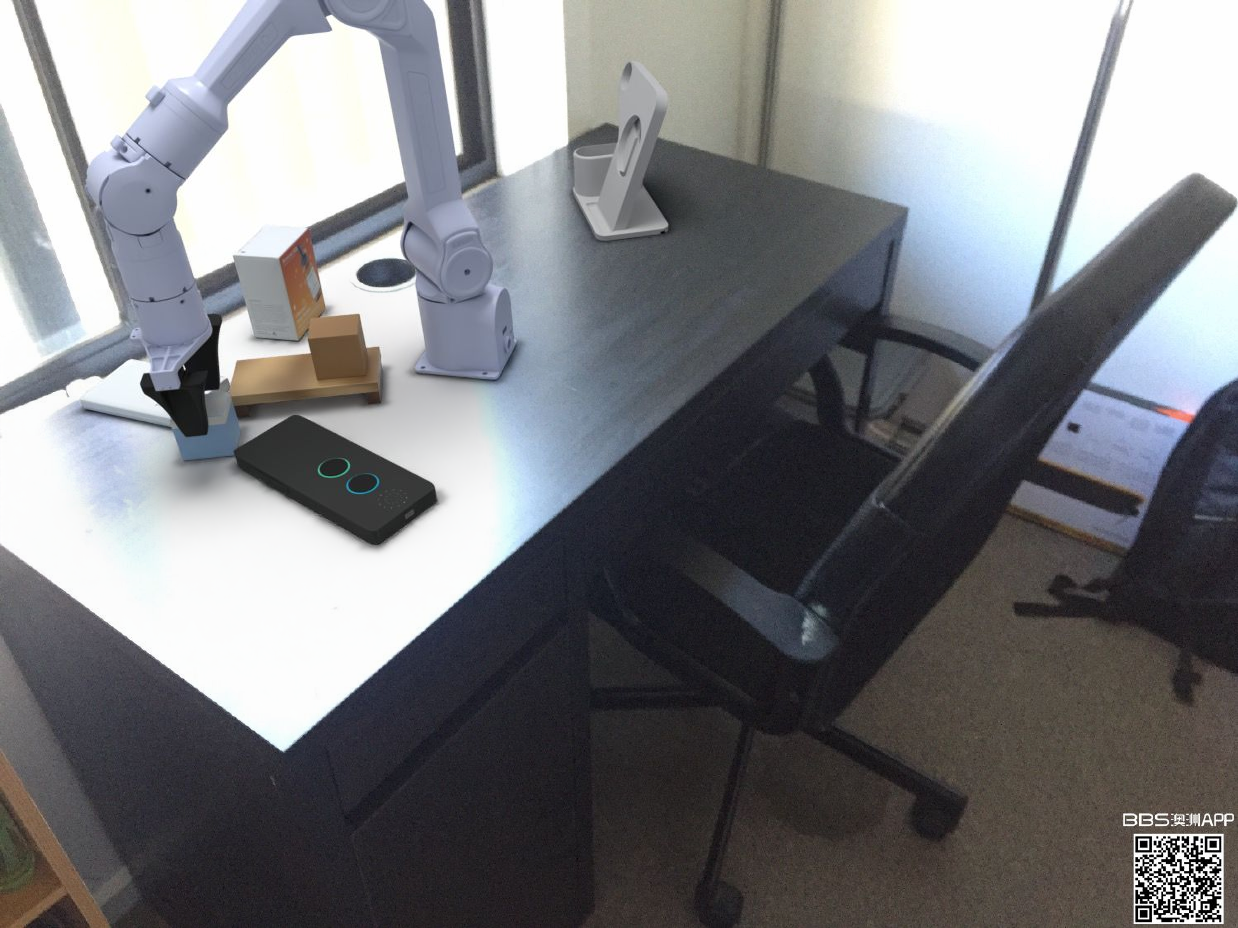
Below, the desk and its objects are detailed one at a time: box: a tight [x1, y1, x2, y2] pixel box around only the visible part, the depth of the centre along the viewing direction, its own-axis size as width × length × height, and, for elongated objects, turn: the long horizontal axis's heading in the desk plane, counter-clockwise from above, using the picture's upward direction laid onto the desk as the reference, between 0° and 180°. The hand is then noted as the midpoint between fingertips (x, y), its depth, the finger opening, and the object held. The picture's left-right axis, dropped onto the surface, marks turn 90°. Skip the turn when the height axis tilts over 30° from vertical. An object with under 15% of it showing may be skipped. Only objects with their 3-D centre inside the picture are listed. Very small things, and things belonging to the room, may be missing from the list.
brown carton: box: [307, 313, 367, 380], centre depth 109 cm, size 5×4×5 cm
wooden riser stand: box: [228, 346, 384, 419], centre depth 111 cm, size 15×7×3 cm, turn 99°
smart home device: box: [233, 414, 438, 545], centre depth 99 cm, size 8×2×20 cm
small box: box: [232, 224, 327, 341], centre depth 120 cm, size 8×6×10 cm
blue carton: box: [169, 391, 242, 462], centre depth 103 cm, size 5×4×5 cm
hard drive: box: [79, 358, 231, 428], centre depth 111 cm, size 2×8×12 cm
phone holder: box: [572, 59, 669, 242], centre depth 140 cm, size 17×10×18 cm, turn 14°
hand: (203, 410), depth 102 cm, fingers open, 7 cm apart
